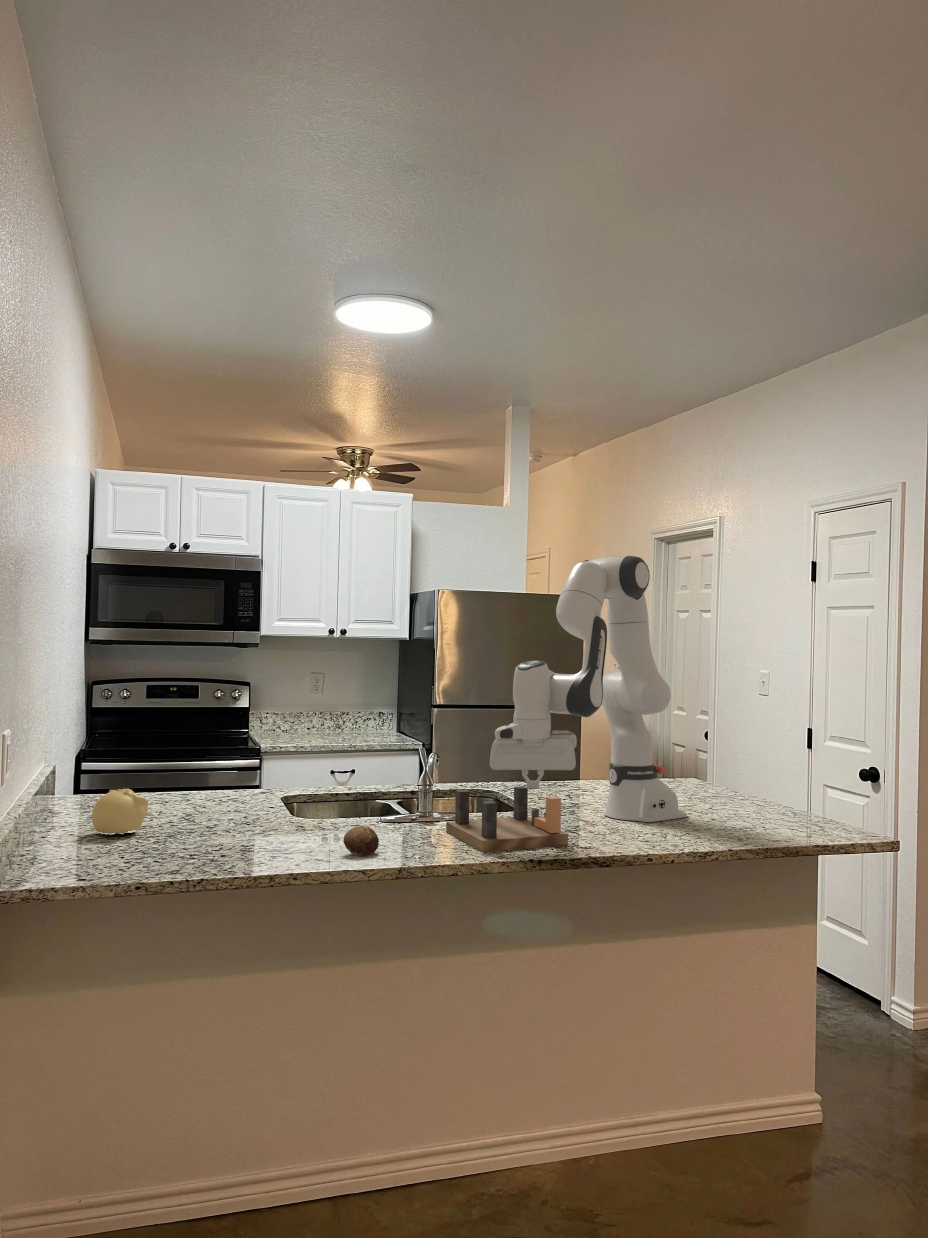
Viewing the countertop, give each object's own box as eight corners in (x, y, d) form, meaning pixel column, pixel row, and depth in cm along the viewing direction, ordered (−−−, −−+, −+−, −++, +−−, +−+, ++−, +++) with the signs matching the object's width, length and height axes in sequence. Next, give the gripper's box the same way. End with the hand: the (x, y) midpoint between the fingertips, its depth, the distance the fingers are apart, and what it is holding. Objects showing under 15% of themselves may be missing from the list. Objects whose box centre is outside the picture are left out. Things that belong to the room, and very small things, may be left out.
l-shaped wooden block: (533, 825, 226) (533, 792, 226) (542, 825, 227) (543, 792, 227) (550, 833, 218) (551, 799, 218) (560, 832, 219) (561, 798, 219)
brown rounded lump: (343, 833, 212) (352, 814, 209) (376, 846, 213) (385, 828, 210) (335, 857, 205) (344, 838, 202) (368, 871, 206) (378, 852, 203)
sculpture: (155, 831, 226) (155, 787, 226) (117, 841, 215) (118, 795, 216) (119, 827, 231) (120, 783, 231) (81, 836, 220) (82, 790, 220)
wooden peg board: (525, 825, 239) (526, 784, 239) (567, 844, 219) (568, 799, 219) (446, 832, 230) (446, 789, 230) (482, 852, 210) (482, 805, 210)
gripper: (576, 728, 221) (577, 786, 222) (490, 728, 224) (491, 786, 224) (576, 731, 215) (577, 791, 215) (488, 732, 218) (489, 791, 218)
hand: (533, 788), depth 220 cm, fingers closed
